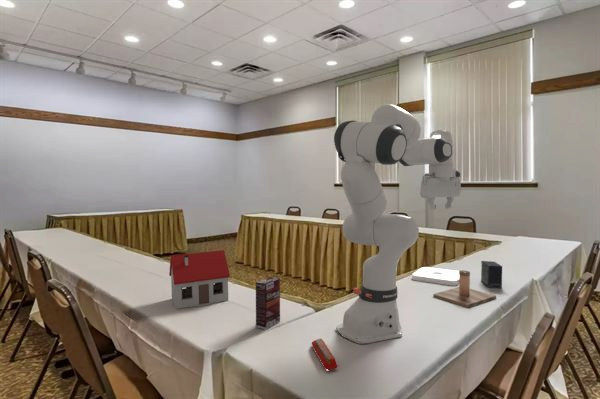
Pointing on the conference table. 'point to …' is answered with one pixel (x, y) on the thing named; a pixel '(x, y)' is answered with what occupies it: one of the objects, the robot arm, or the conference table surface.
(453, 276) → the computer
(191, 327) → the conference table surface
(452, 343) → the conference table surface
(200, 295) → the house model
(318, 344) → the candy bar
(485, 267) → the small box
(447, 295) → the board
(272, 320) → the supplement box
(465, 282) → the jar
